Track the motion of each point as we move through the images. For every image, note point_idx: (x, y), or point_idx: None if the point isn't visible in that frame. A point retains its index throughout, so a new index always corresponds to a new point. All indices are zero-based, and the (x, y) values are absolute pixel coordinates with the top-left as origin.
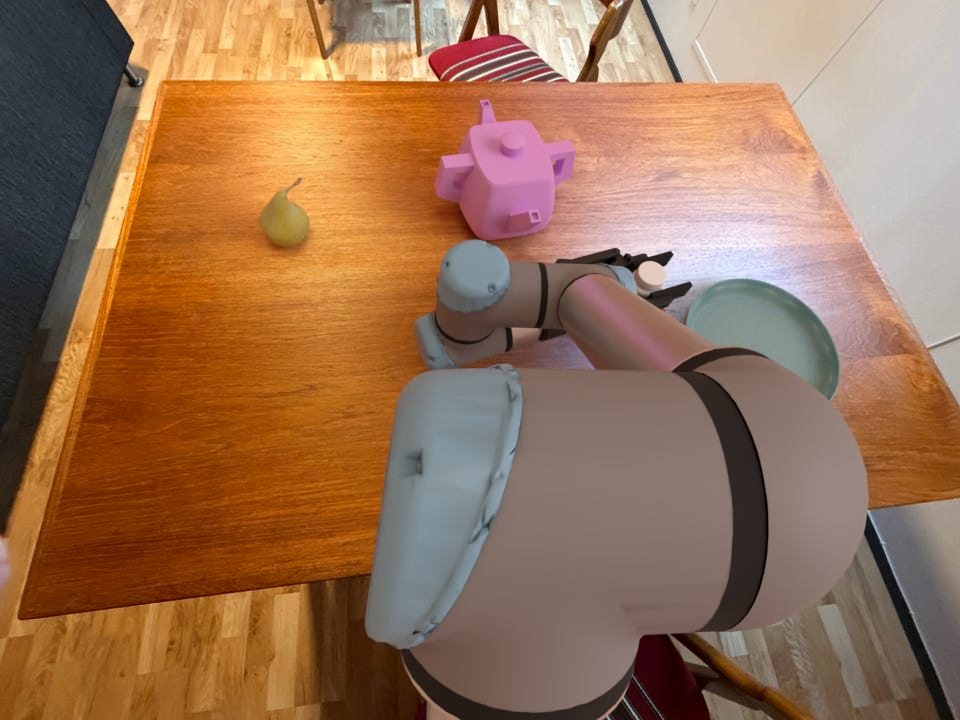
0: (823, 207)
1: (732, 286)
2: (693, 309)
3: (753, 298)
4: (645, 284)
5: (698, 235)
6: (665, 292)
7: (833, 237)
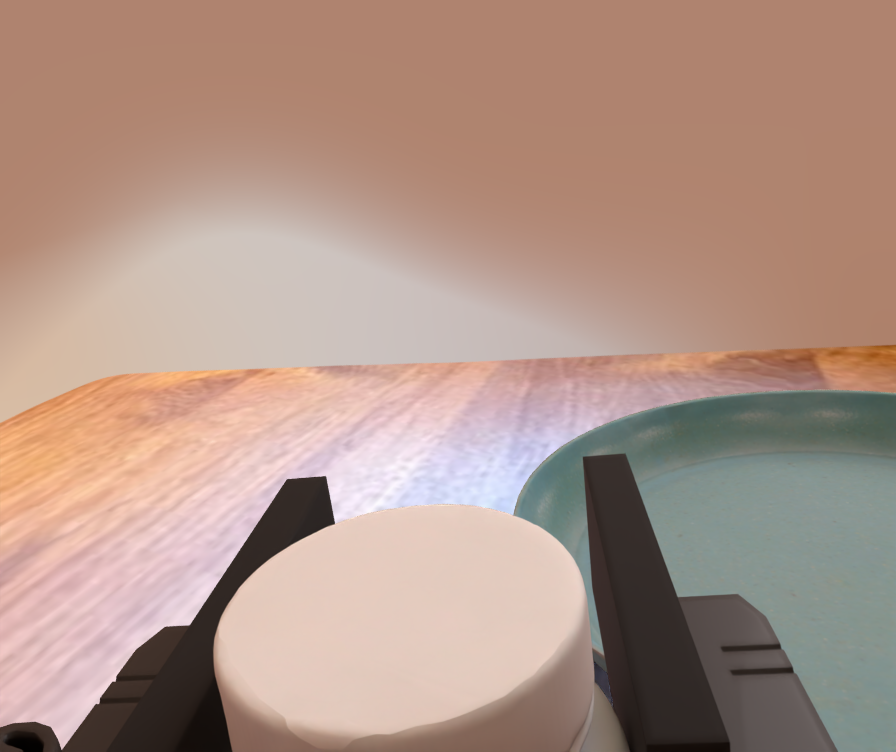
0: (394, 374)
1: (540, 521)
2: None
3: None
4: (517, 734)
5: None
6: (666, 604)
7: (472, 377)
